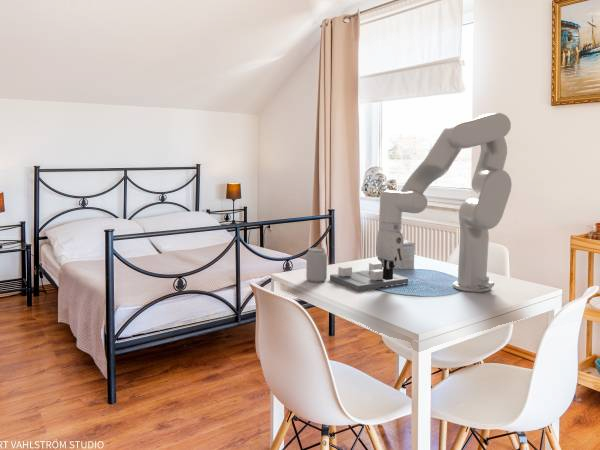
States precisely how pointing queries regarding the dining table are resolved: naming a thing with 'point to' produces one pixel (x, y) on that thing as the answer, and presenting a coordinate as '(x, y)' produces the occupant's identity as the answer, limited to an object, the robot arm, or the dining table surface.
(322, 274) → the can
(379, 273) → the handle
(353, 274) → the breaker panel
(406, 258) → the light bulb box
